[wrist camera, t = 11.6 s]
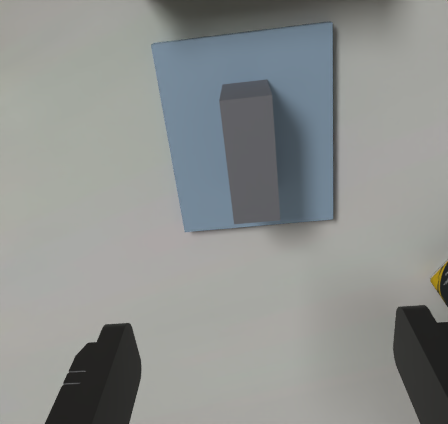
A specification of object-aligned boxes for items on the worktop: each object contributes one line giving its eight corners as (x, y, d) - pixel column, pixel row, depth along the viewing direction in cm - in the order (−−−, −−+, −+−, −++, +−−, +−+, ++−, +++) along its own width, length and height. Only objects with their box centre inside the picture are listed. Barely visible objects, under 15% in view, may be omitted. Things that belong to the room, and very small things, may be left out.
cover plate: (155, 42, 29) (134, 54, 23) (328, 20, 28) (350, 27, 22) (186, 223, 35) (176, 267, 30) (329, 210, 34) (347, 254, 29)
